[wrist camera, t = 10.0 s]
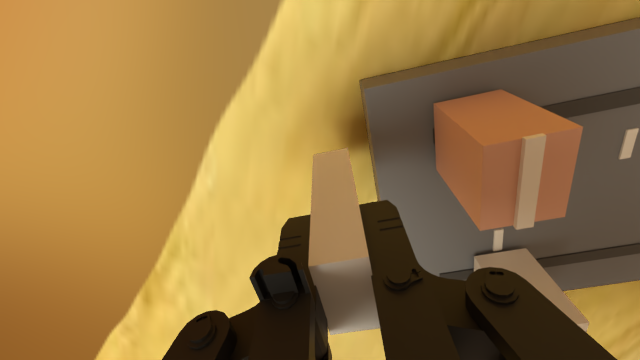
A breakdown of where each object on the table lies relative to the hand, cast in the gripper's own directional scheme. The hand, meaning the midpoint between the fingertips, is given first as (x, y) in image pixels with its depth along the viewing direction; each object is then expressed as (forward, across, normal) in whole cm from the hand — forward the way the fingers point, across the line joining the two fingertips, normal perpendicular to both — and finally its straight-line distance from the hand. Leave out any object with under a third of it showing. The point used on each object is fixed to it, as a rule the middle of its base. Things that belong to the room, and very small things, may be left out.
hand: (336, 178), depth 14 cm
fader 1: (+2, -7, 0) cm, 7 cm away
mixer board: (+5, -12, +5) cm, 14 cm away
